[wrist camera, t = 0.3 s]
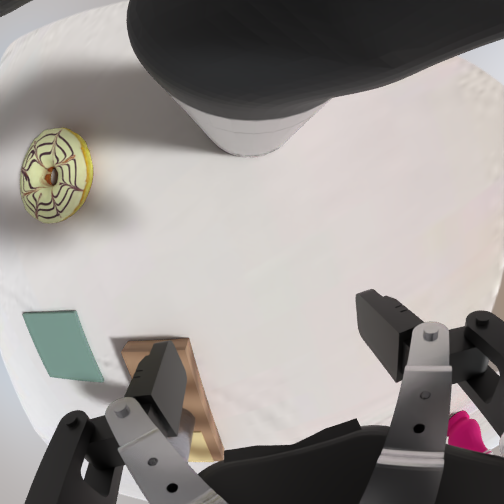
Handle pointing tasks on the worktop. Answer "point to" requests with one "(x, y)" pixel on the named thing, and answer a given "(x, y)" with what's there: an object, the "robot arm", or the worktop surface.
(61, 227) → the worktop surface
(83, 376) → the felt mat
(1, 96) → the worktop surface
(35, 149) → the decorated donut
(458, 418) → the pepper mill
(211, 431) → the plane body
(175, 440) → the cylinder with brass knob
